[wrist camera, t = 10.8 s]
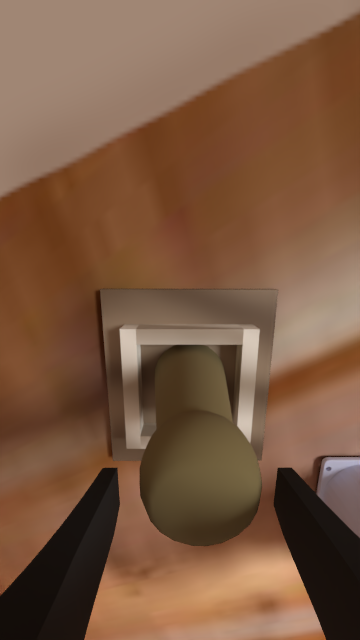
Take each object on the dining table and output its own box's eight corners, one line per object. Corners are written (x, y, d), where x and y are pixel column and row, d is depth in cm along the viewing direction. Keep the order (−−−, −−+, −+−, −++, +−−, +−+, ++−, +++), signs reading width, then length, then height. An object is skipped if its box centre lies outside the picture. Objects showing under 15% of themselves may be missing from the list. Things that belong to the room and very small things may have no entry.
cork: (159, 410, 19) (134, 582, 9) (149, 346, 18) (105, 453, 7) (227, 403, 19) (287, 569, 8) (222, 338, 18) (286, 436, 7)
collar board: (259, 455, 21) (268, 476, 19) (114, 455, 21) (107, 476, 19) (274, 289, 18) (288, 291, 16) (102, 288, 18) (91, 290, 15)
